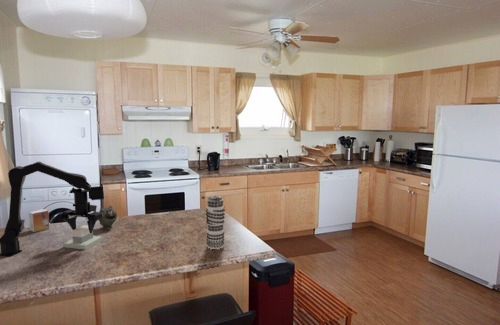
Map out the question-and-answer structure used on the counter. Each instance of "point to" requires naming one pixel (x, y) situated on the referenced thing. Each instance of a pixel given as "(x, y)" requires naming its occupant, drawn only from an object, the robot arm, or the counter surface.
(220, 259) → the counter surface
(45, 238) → the counter surface
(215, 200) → the tower model
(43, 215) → the small box
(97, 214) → the robot arm
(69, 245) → the stand
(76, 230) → the block
